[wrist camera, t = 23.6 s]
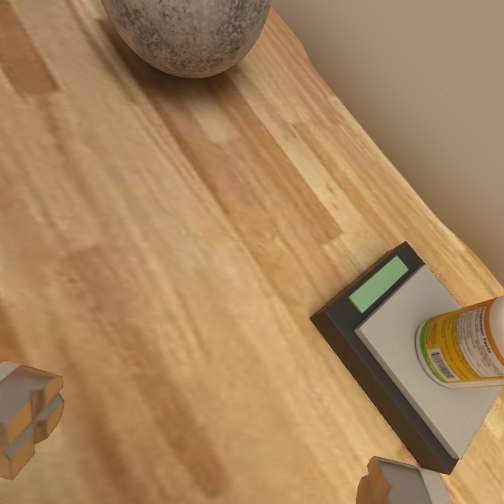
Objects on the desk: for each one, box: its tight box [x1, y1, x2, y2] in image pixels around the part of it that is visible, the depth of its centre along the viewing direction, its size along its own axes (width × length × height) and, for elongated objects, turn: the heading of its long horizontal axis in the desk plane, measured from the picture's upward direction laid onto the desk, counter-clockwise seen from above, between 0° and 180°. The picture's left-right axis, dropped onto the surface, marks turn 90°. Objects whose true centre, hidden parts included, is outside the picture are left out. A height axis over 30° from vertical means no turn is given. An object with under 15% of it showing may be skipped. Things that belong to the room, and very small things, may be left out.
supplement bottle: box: [416, 296, 504, 388], centre depth 22 cm, size 5×5×10 cm
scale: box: [310, 241, 503, 475], centre depth 28 cm, size 14×12×3 cm
